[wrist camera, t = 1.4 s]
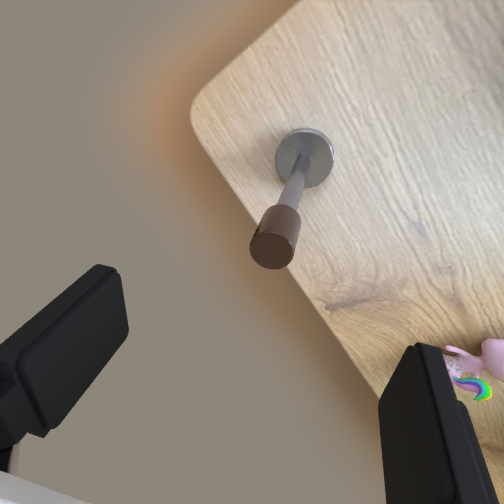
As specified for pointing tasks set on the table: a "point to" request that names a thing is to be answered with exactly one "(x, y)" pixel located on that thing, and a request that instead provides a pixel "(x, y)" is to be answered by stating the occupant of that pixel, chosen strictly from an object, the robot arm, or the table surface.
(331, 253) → the table surface
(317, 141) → the wood-topped metal stand
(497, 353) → the rabbit figure
